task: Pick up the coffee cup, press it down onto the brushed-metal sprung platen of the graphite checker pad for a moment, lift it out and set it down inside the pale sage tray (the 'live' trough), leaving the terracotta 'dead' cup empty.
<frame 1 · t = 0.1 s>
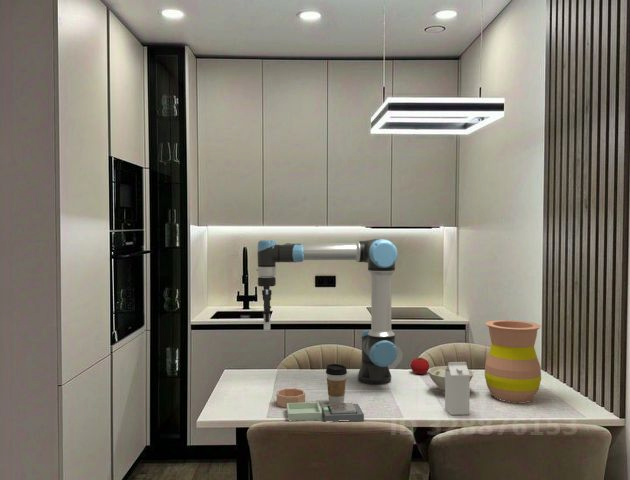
hand: (266, 326, 235), 28 cm above the table, fingers open, 13 cm apart
vase: (512, 397, 229), on the table
coffee cup: (336, 403, 221), on the table
bowl: (450, 393, 236), on the table
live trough: (303, 414, 208), on the table
tomato: (419, 374, 266), on the table
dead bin: (290, 403, 222), on the table
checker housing: (342, 416, 206), on the table
platen: (342, 408, 206), point 3 cm above the table, slide at 0.0 cm
milk carton: (457, 412, 211), on the table
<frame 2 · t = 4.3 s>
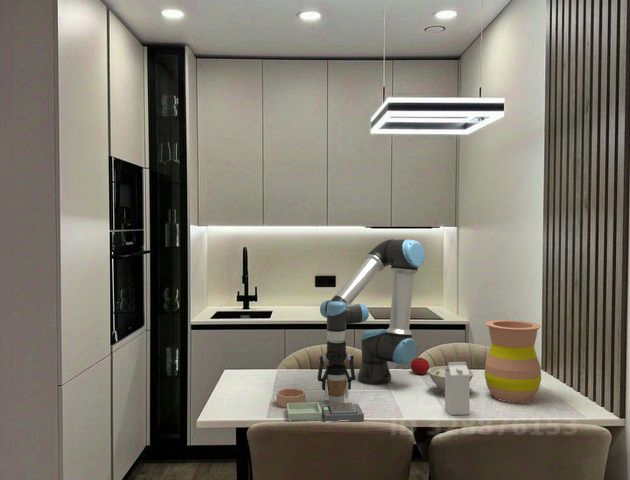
hand: (336, 397, 221), 2 cm above the table, fingers closed on coffee cup, 8 cm apart
coffee cup: (336, 403, 221), on the table, touching gripper
everything else where it was.
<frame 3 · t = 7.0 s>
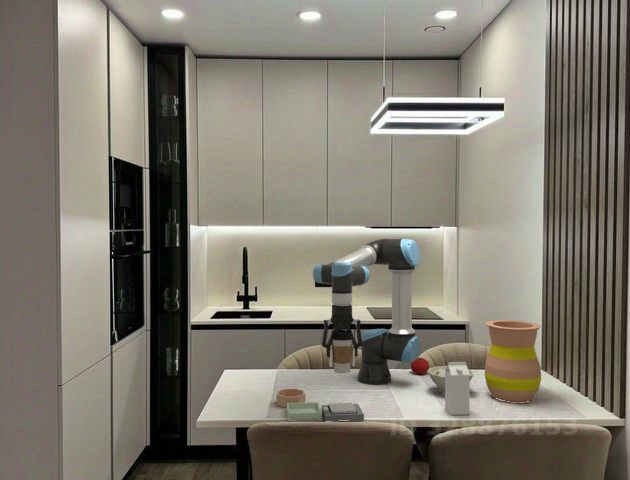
hand: (342, 365, 206), 19 cm above the table, fingers closed on coffee cup, 8 cm apart
coffee cup: (342, 372, 206), point 17 cm above the table, touching gripper
everything else where it was.
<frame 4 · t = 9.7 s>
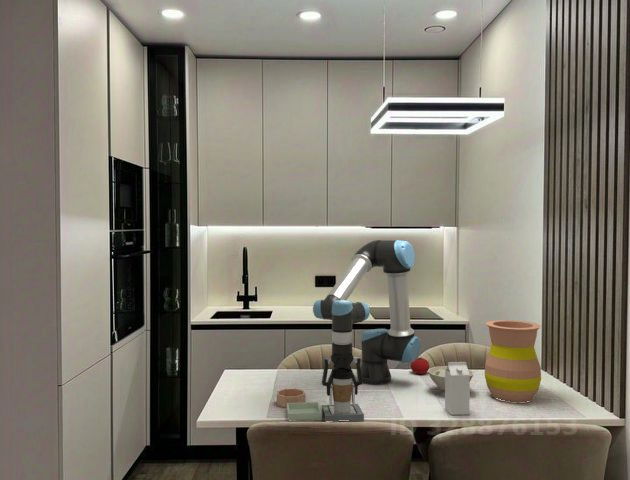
hand: (342, 403, 206), 5 cm above the table, fingers closed on coffee cup, 8 cm apart
coffee cup: (342, 410, 206), point 2 cm above the table, touching gripper, platen
platen: (342, 410, 206), point 2 cm above the table, slide at 1.0 cm, touching coffee cup
everything else where it was.
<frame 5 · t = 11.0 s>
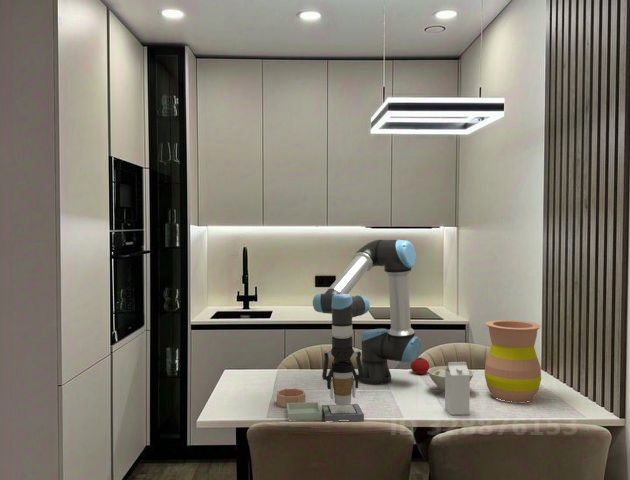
hand: (342, 397, 207), 7 cm above the table, fingers closed on coffee cup, 8 cm apart
coffee cup: (342, 403, 207), point 5 cm above the table, touching gripper
platen: (342, 410, 206), point 2 cm above the table, slide at 0.8 cm
everything else where it was.
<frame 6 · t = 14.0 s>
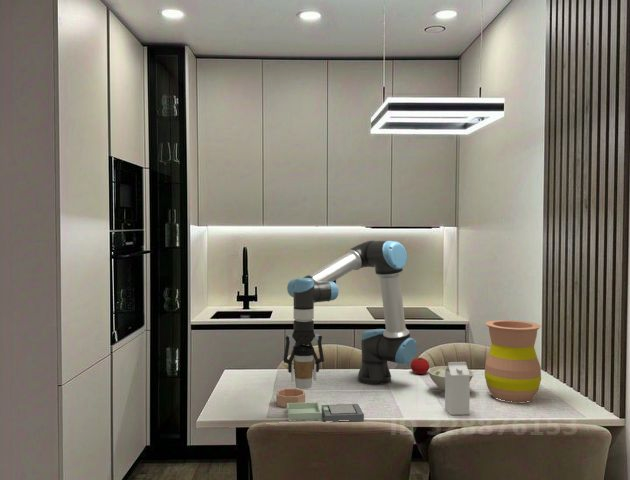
hand: (303, 380, 208), 13 cm above the table, fingers closed on coffee cup, 8 cm apart
coffee cup: (303, 387, 208), point 10 cm above the table, touching gripper
everything else where it was.
when the fingers open (5 cm above the table, at t = 15.9 s): coffee cup drops 2 cm, resting on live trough.
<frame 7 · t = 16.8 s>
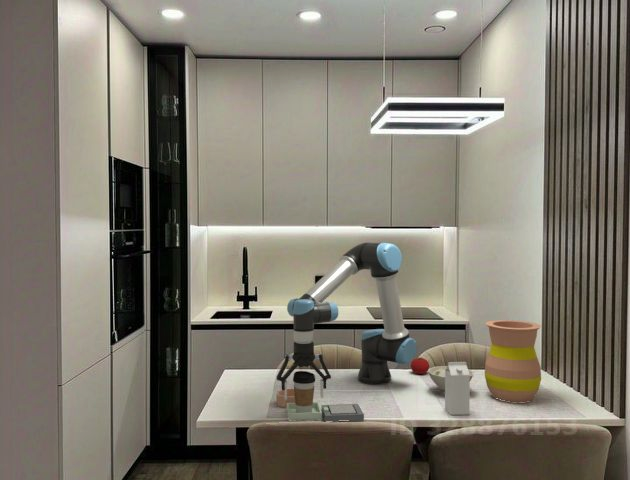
hand: (303, 398, 208), 6 cm above the table, fingers open, 13 cm apart
coffee cup: (304, 413, 208), resting on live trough
everything else where it was.
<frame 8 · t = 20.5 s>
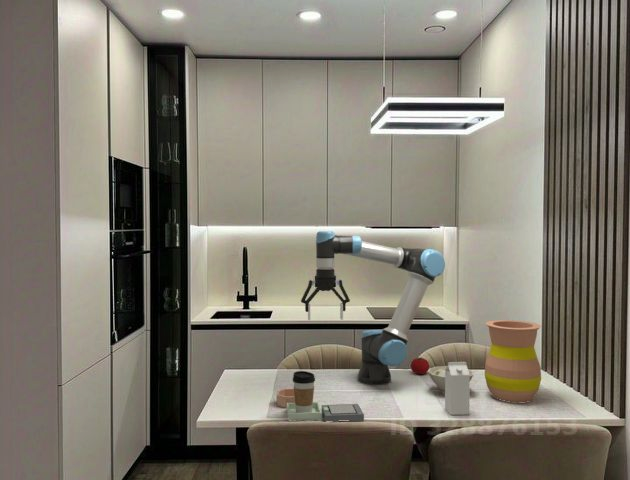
hand: (325, 319, 231), 32 cm above the table, fingers open, 13 cm apart
nothing on the table moved.
at the end: coffee cup inside the target area on the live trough (0.0 cm from its centre), point 0.4 cm above the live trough's base; coffee cup tilted 0°; the gripper is holding nothing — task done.
